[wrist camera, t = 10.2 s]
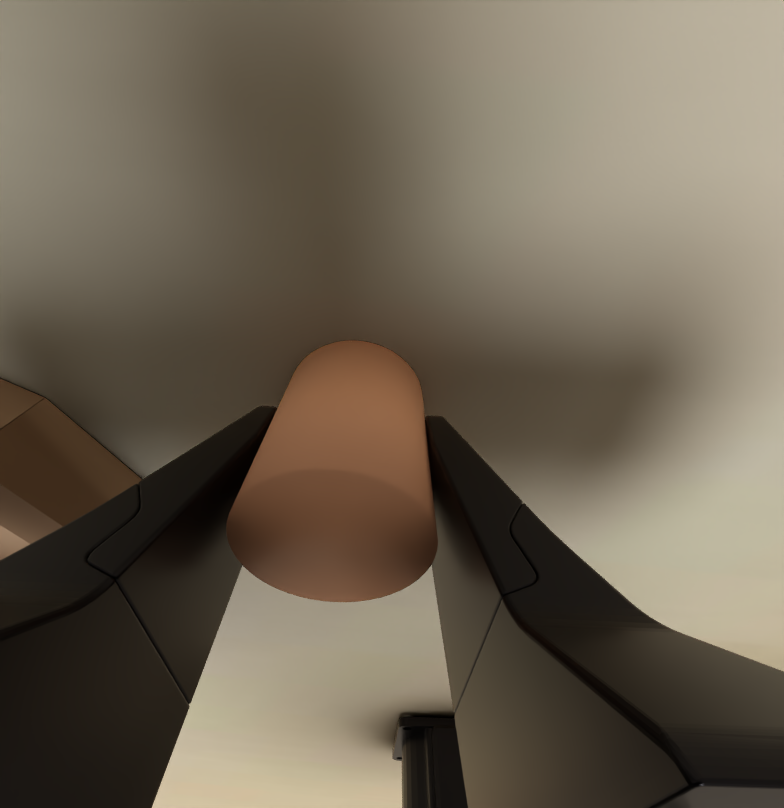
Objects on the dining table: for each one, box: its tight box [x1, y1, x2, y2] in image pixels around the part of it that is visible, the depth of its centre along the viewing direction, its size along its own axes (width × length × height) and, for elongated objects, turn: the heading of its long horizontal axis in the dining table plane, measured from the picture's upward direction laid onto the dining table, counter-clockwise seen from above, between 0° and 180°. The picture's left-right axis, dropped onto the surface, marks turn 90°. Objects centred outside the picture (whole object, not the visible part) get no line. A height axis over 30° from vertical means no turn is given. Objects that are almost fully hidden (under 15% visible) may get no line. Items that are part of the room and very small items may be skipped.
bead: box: [226, 341, 438, 602], centre depth 8 cm, size 4×4×4 cm
